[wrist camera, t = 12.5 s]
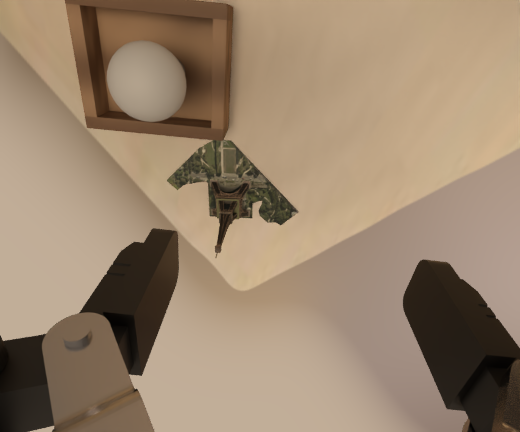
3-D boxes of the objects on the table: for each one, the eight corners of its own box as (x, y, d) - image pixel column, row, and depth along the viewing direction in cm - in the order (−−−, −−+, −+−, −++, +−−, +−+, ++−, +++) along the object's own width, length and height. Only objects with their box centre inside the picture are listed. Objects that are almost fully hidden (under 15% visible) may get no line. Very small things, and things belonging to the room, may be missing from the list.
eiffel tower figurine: (300, 210, 44) (310, 275, 32) (246, 251, 48) (237, 322, 36) (220, 127, 39) (197, 169, 27) (166, 180, 42) (126, 237, 31)
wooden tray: (90, -8, 32) (62, -14, 28) (233, 7, 32) (227, 3, 28) (108, 116, 38) (87, 127, 34) (228, 128, 38) (222, 140, 34)
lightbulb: (152, 101, 35) (104, 131, 26) (139, 36, 32) (80, 44, 23) (208, 100, 35) (180, 130, 26) (201, 34, 32) (167, 41, 22)
